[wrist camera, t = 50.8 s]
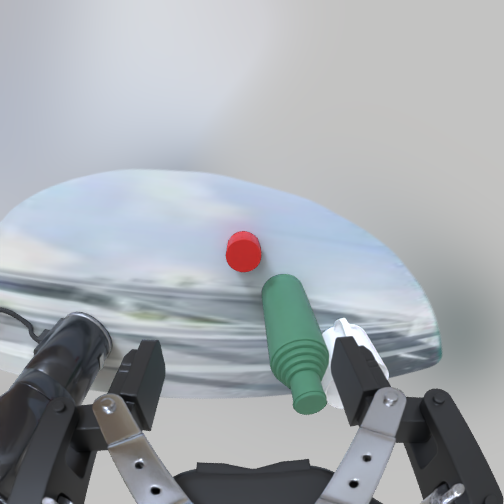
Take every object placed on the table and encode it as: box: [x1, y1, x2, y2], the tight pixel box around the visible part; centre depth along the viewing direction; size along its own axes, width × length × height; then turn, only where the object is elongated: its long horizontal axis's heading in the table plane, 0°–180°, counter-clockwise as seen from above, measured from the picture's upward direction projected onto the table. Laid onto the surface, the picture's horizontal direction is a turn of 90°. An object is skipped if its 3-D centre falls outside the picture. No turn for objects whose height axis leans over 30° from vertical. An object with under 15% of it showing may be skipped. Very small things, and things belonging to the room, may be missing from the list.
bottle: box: [262, 274, 329, 415], centre depth 30 cm, size 6×6×20 cm
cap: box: [226, 231, 261, 272], centre depth 35 cm, size 4×4×3 cm
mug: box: [321, 318, 389, 409], centre depth 37 cm, size 12×9×9 cm
